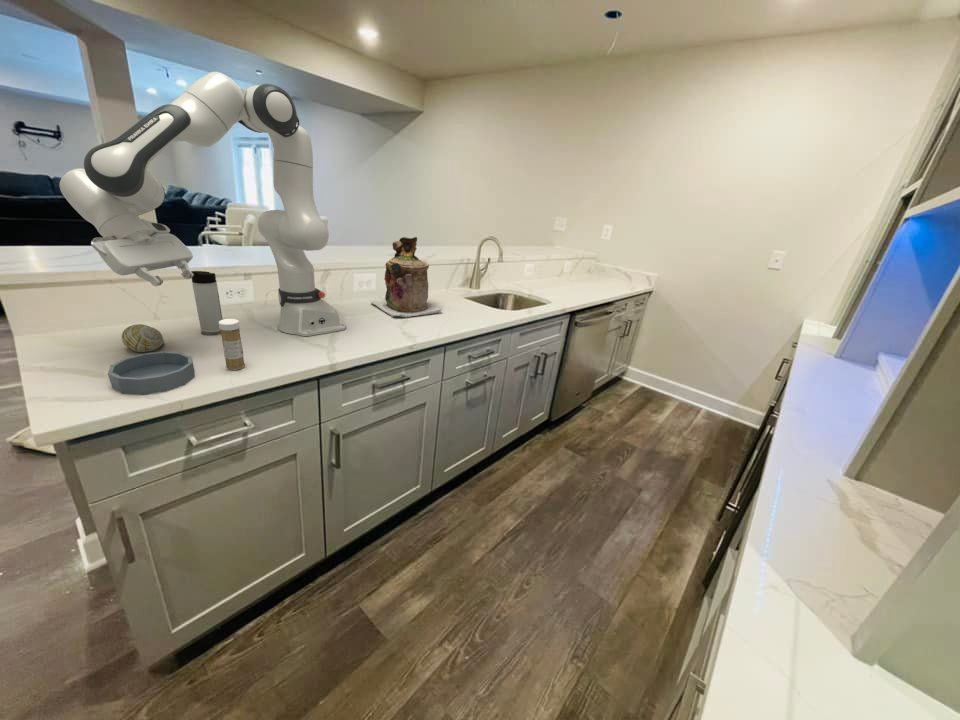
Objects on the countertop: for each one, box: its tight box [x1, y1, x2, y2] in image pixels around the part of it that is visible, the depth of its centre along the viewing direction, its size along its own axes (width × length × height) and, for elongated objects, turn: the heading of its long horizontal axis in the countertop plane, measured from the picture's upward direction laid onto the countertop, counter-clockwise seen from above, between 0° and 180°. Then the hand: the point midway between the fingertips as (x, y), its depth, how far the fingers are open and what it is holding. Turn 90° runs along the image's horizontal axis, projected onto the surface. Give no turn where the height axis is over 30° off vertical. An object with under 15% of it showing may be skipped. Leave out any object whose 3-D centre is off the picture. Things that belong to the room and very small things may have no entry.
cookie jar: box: [370, 236, 443, 318], centre depth 166 cm, size 25×25×32 cm
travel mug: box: [190, 270, 223, 336], centre depth 121 cm, size 6×7×20 cm
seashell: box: [121, 323, 165, 353], centre depth 108 cm, size 10×10×10 cm
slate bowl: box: [107, 351, 196, 396], centre depth 94 cm, size 16×16×4 cm
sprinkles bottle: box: [219, 318, 246, 371], centre depth 102 cm, size 5×5×13 cm
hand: (175, 280), depth 97 cm, fingers open, 8 cm apart
